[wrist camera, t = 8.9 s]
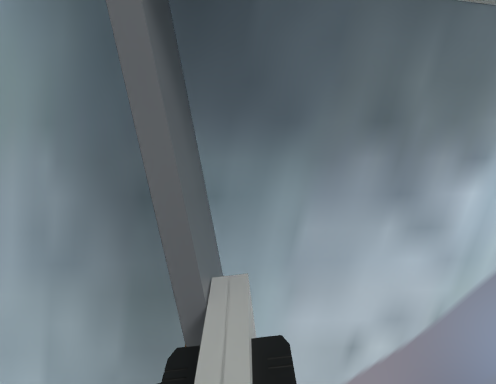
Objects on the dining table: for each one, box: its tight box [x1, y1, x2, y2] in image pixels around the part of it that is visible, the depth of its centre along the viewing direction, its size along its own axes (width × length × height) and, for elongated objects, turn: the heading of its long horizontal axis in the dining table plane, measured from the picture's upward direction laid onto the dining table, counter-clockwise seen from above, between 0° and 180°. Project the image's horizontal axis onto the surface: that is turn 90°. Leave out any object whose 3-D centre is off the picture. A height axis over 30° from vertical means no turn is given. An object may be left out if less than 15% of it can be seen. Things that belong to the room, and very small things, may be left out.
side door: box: [106, 0, 223, 347], centre depth 16 cm, size 17×2×6 cm, turn 10°
